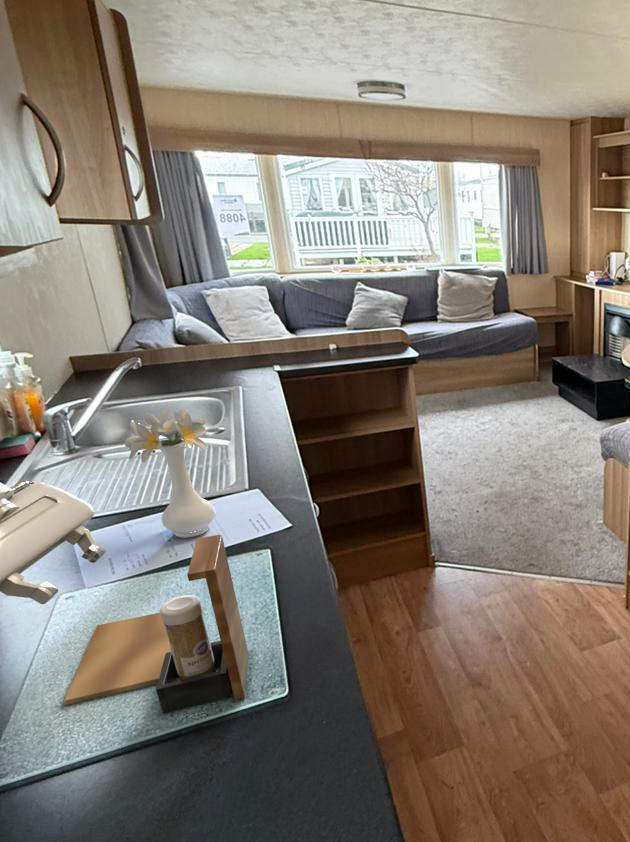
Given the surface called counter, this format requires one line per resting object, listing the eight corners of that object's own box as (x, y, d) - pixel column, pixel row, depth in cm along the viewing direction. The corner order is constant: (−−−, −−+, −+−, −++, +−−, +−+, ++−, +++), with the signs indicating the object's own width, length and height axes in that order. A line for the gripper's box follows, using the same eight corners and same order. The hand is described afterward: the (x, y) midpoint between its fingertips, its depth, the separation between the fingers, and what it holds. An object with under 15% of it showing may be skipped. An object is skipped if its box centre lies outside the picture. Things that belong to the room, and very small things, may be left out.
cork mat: (65, 705, 86) (63, 701, 86) (98, 629, 101) (97, 625, 101) (170, 680, 90) (169, 675, 90) (187, 611, 106) (186, 606, 106)
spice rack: (161, 719, 84) (122, 586, 77) (173, 671, 92) (138, 547, 85) (244, 698, 87) (214, 569, 80) (248, 653, 96) (221, 534, 89)
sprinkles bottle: (206, 698, 87) (184, 614, 82) (174, 696, 87) (150, 612, 83) (227, 675, 91) (207, 594, 87) (196, 673, 92) (175, 592, 87)
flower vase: (228, 506, 142) (204, 396, 134) (225, 542, 127) (198, 421, 118) (158, 517, 137) (128, 404, 128) (146, 557, 121) (112, 432, 113)
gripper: (17, 491, 88) (113, 551, 92) (-125, 572, 69) (4, 642, 73) (42, 460, 87) (138, 521, 91) (-96, 533, 68) (33, 606, 72)
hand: (77, 576), depth 82 cm, fingers open, 8 cm apart
